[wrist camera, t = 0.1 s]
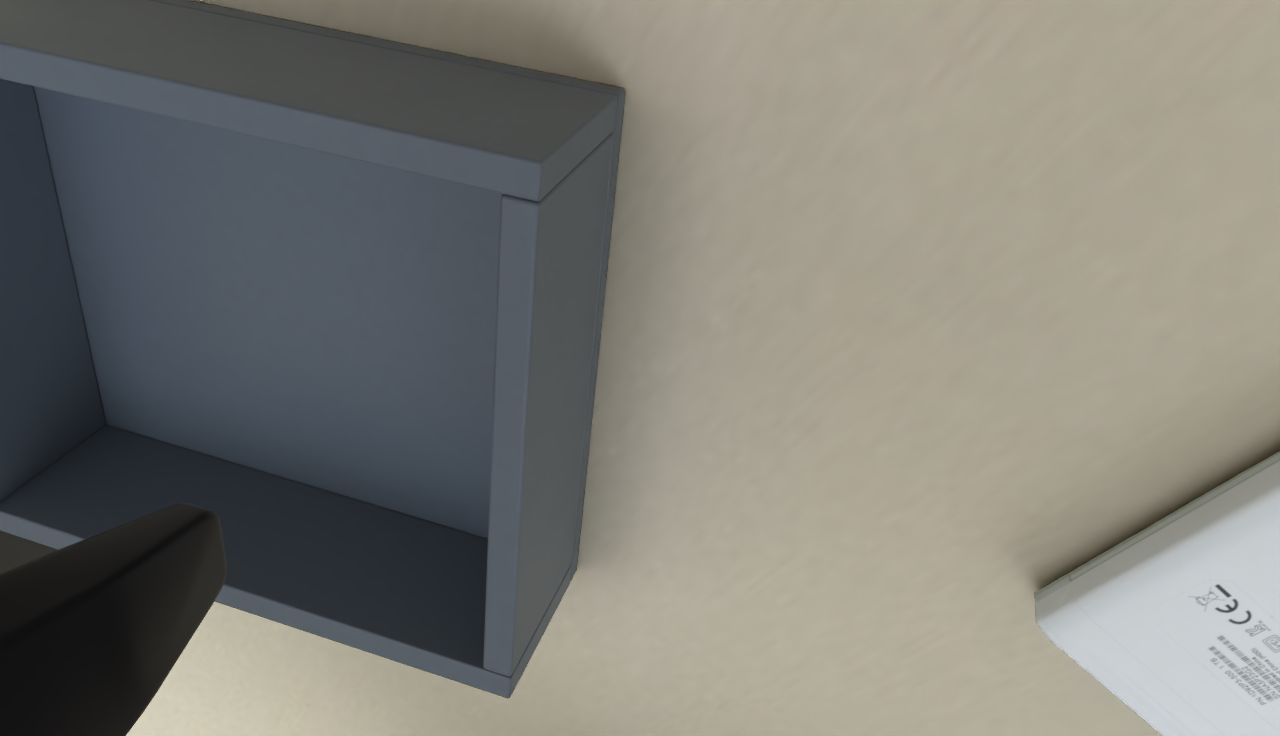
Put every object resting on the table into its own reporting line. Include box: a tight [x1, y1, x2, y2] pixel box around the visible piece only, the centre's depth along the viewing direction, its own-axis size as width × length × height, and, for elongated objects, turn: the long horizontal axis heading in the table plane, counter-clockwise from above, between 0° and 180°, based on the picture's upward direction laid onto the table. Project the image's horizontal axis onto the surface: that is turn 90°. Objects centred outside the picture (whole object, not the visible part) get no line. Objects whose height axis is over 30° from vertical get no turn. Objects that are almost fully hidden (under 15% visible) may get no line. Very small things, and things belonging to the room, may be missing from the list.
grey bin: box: [0, 0, 625, 698], centre depth 26 cm, size 15×17×5 cm
